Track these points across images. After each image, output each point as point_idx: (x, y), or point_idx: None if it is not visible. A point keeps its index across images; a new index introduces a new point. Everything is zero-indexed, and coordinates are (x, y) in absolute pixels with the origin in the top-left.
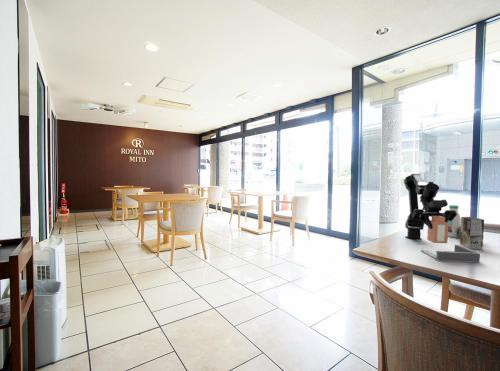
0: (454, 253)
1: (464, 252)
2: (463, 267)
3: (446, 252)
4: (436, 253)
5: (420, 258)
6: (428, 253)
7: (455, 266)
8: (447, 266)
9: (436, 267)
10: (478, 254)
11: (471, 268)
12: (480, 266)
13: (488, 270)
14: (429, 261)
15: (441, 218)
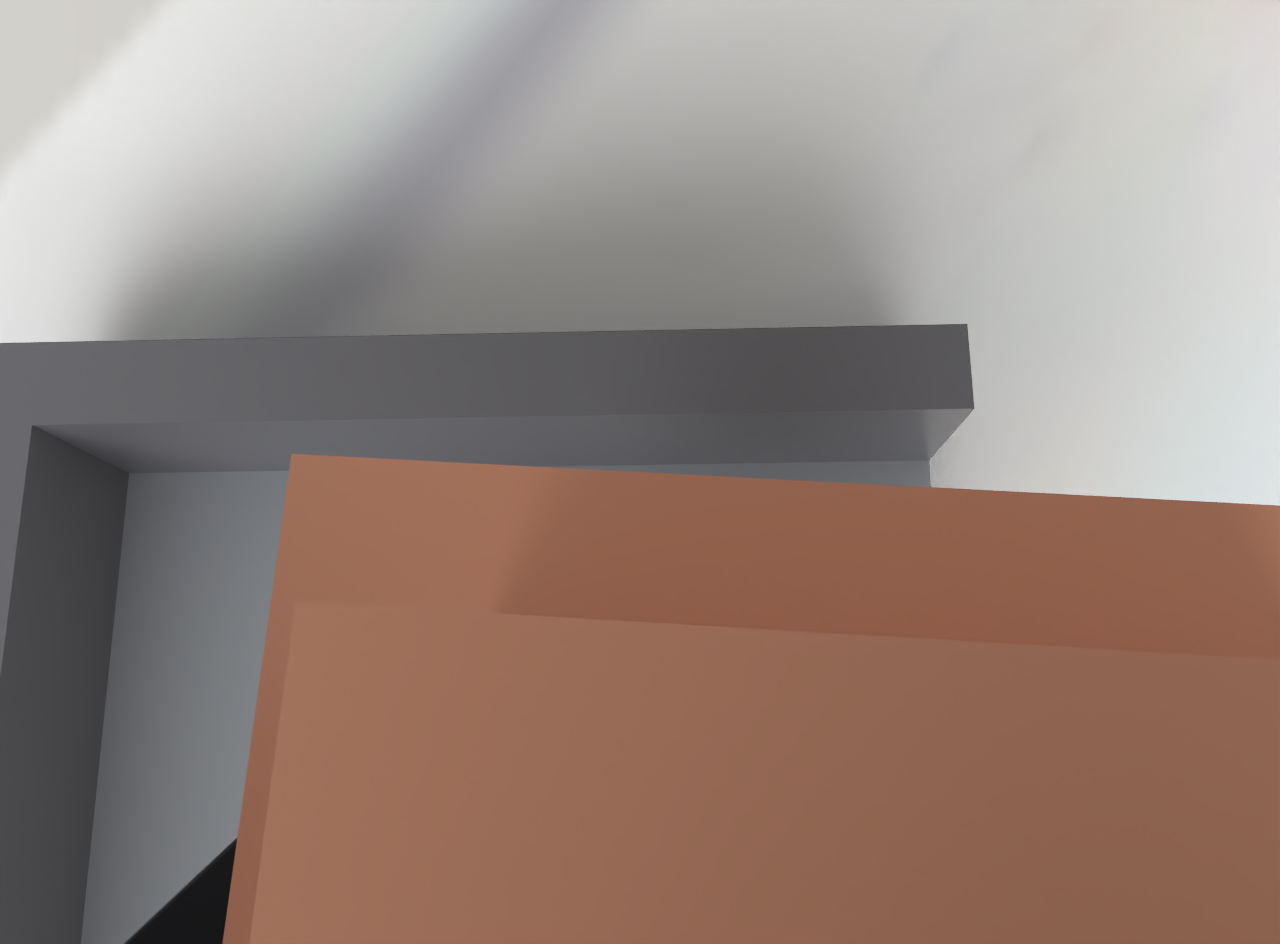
0: (571, 338)
1: (276, 404)
2: (625, 89)
3: (768, 330)
4: None
5: None
6: None
7: (747, 120)
8: (906, 97)
9: (1152, 15)
10: (1, 352)
11: (509, 60)
12: (247, 191)
13: (271, 8)
14: (1130, 338)
15: (874, 641)
